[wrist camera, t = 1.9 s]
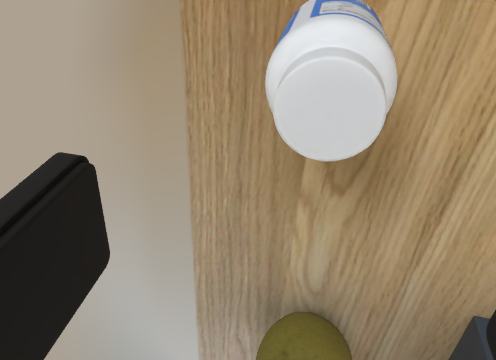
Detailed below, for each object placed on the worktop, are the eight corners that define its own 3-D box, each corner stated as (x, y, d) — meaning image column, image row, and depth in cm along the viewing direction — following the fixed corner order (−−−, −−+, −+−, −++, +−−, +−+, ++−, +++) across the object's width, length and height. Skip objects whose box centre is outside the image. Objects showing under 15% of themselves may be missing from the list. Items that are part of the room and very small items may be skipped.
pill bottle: (313, 106, 25) (296, 199, 17) (265, 28, 23) (220, 89, 15) (402, 60, 22) (432, 142, 14) (356, -33, 20) (362, 1, 12)
